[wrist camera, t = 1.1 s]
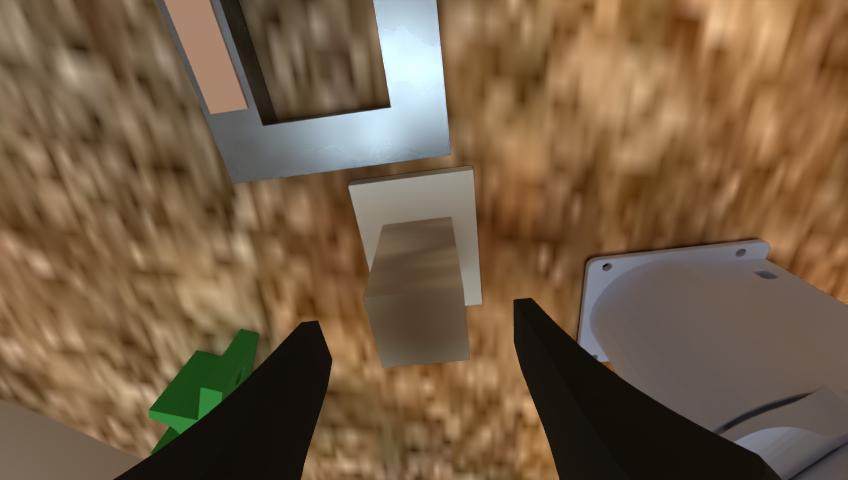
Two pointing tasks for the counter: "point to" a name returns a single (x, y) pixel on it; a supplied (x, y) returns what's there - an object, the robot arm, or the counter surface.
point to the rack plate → (321, 134)
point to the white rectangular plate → (423, 213)
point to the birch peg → (417, 295)
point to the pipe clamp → (203, 385)
